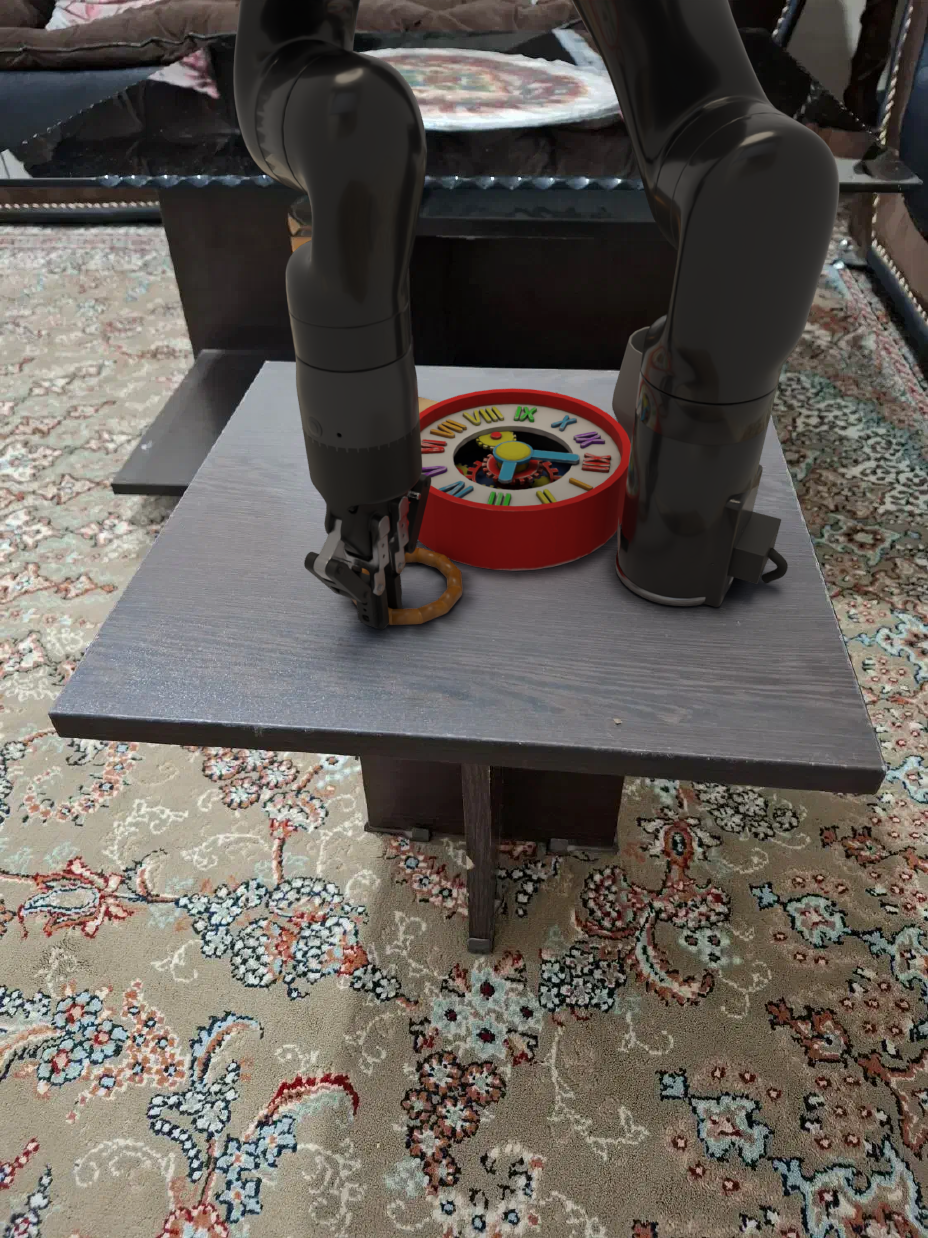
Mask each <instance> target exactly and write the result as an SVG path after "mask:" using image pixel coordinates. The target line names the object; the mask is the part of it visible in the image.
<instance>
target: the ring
mask: <svg viewBox="0 0 928 1238" xmlns="http://www.w3.org/2000/svg"><path fill="white" fill-rule="evenodd" d="M407 563H420V564H423V565H426V566H429V567H432V568H435V569H437V570H438V571H439V573H441V574H442V575H443V576H444V577H445V578H446V589H445V591H444V592H443V593H442V594H441V595H440V597H438V599H436V600H434V601H432V602H428V603H426V604H425V605H421V606H419V607H415V608H414V607H413V608H402V609H392V608H389V607H388V612H389V624H388V625H390V626H403V625H421V624H425V623H427V622H429V621H431V620H434V619H436V618H439V617H441V616H444V615H446V614H448V613H449V612H450V611H451V609H452V608H453V607H454V605H455V604H456V603H457V602H458V600H459V599H460V598H461V597H462V595H463V574H462V571H461V569H460V568H459V567H458V566H457V565H456V564H455V563H454V562H453V561H452V560H451V559H449V558H447V557H446V556H445V555H443V554H439V553H436V552H434V551H433V550H431V549H427V548H424V547H416V549H415V551H414V552H413V553H412V554H409V553H406V554H405V564H407ZM362 573H365V574H368V575H370V574H369V572H368V571H367V570H366V569H363V568H362ZM351 600H352V602H353V603H354V604H355V606H357V603H356V600H353V599H351Z"/></svg>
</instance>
